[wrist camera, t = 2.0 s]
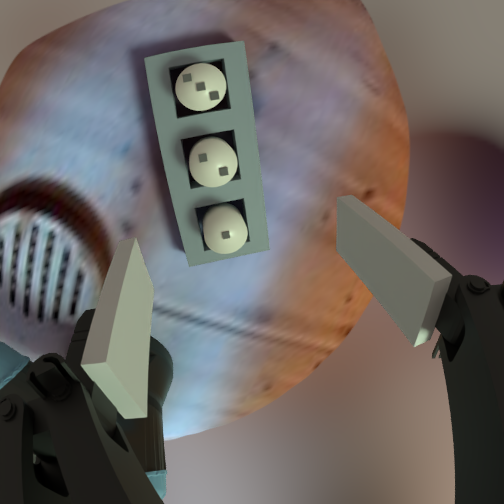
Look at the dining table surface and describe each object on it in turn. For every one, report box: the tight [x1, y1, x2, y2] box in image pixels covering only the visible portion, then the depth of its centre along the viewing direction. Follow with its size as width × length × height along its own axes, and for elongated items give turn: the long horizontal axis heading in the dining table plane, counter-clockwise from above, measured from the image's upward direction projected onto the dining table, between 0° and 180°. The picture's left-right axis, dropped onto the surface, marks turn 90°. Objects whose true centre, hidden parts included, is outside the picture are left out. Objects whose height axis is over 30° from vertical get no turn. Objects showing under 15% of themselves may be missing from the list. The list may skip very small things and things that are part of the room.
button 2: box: [189, 136, 237, 187], centre depth 27 cm, size 4×4×3 cm
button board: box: [144, 41, 270, 267], centre depth 28 cm, size 9×22×2 cm, turn 7°
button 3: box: [175, 63, 226, 111], centre depth 23 cm, size 4×4×3 cm
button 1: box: [202, 203, 248, 254], centre depth 30 cm, size 4×4×3 cm
